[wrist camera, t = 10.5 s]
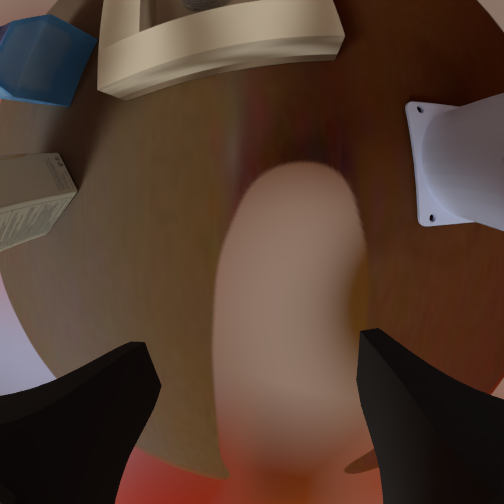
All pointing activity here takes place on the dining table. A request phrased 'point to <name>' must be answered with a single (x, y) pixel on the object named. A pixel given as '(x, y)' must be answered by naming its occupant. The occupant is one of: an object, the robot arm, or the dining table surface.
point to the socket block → (207, 40)
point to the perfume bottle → (42, 60)
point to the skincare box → (31, 195)
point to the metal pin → (203, 4)
